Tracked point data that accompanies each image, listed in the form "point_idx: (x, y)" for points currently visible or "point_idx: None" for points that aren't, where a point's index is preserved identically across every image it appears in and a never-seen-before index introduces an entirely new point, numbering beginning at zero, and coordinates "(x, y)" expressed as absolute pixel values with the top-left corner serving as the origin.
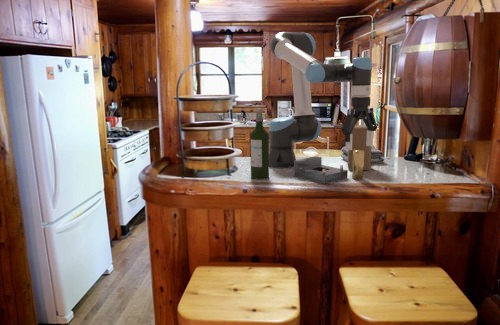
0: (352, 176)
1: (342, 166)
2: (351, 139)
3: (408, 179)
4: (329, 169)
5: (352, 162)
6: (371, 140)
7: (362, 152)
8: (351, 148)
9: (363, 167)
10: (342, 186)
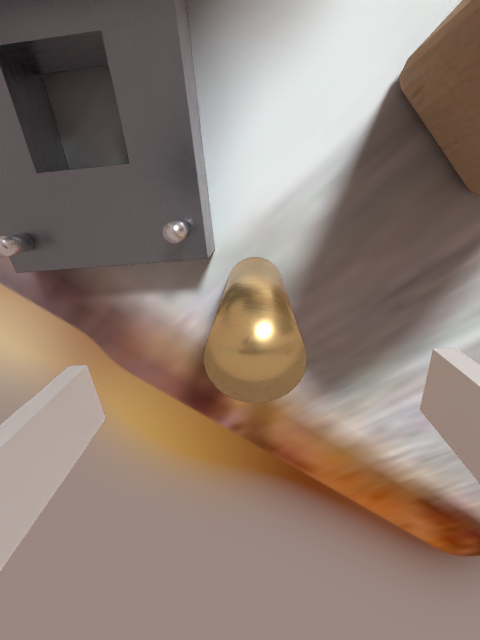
0: (231, 272)
1: (173, 241)
2: (10, 532)
3: (409, 414)
4: (128, 152)
5: (439, 83)
6: (468, 464)
7: (251, 397)
8: (89, 431)
9: (460, 164)
10: (102, 336)
